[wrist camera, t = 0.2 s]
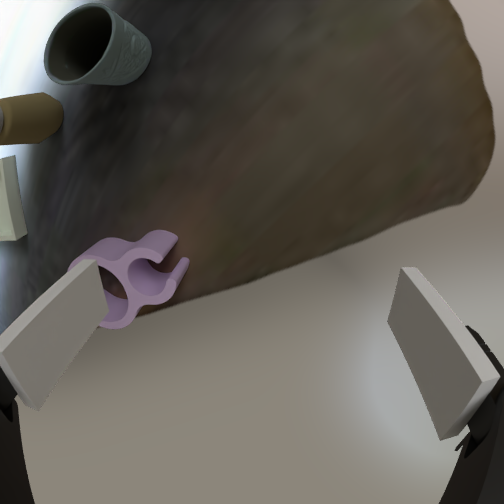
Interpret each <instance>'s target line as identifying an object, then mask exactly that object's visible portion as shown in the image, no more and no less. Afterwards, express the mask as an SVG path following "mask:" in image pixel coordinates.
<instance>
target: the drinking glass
mask: <svg viewBox="0 0 504 504" xmlns="http://www.w3.org/2000/svg"><path fill="white" fill-rule="evenodd" d="M151 55H152V49H151V44H150V42H149V40H148V38H147V37H146V36H145V35H144V34H143V33H141V32H140V31H139V30H137V29H136V28H135V27H134V26H133V25H131V24H130V23H129V22H128V21H126V20H123V19H122V18H121V17H120V16H119V15H118V14H116V13H115V12H114V11H112V10H111V9H110V8H108V7H107V6H106V5H103V4H100V3H89V4H85V5H82V6H80V7H77V8H75V9H74V10H72V11H71V12H69V13H68V14H67V15H66V16H64V17H63V18H62V19H61V20H60V22H59V23H58V24H57V25H56V27H55V28H54V30H53V31H52V33H51V35H50V37H49V39H48V42H47V44H46V48H45V53H44V66H45V70H46V73H47V75H48V76H49V78H50V79H51V80H53V81H54V82H55V83H58V84H61V85H78V84H103V85H125V84H128V83H130V82H132V81H134V80H135V79H137V78H138V77H139V76H140V75H142V73H143V72H144V70H145V69H146V67H147V66H148V64H149V61H150V58H151Z"/></svg>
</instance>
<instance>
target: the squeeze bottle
mask: <svg viewBox="0 0 504 504" xmlns="http://www.w3.org/2000/svg"><path fill="white" fill-rule="evenodd" d="M62 121H63V108H62V105H61V104H60V102H59V101H57V100H56V99H54V98H53V97H51V96H50V95H48V94H46V93H43V92H42V93H34V94H26V95H20V96H13V97H7V98H3V99H0V145H13V144H35V143H40V142H42V141H43V140H45V139H46V138H48V137H49V136H51V135H52V134H54V133H55V132H56V131H57V130H58V129H59V127H60V126H61V123H62Z"/></svg>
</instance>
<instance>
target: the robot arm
mask: <svg viewBox="0 0 504 504" xmlns="http://www.w3.org/2000/svg"><path fill="white" fill-rule="evenodd" d="M108 312H109V308H108V305H107V301H106V297H105V294H104V290H103V286H102V282H101V278H100V273H99V269H98V265H97V260H95V259H83V260H82V261H80V262H79V263H78V264H77V265H76V266H74V267H73V268H72V269H71V270H70V271H69V272H67V273H66V274H65V275H64V276H63V277H62V278H60V279H59V280H58V281H57V282H56V283H55V284H54V285H52V286H51V287H50V288H49V289H48V290H47V291H46V292H45V293H44V294H42V295H41V296H40V297H39V298H38V299H37V300H36V301H35V302H34V303H33V304H32V305H31V306H29V307H28V308H27V309H26V310H25V311H24V312H23V313H22V314H21V315H20V316H19V317H17V318H16V319H15V320H14V321H13V322H12V324H10V325H9V326H8V327H7V329H6V330H4V331H3V333H2V334H1V335H0V504H35V503H34V499H33V495H32V492H31V488H30V484H29V479H28V475H27V470H26V465H25V460H24V454H23V448H22V441H21V433H20V424H19V414H18V405H17V402H16V401H15V399H14V398H15V397H16V395H17V394H18V396H19V397H20V398H21V400H22V401H23V403H24V404H25V405H26V406H28V407H30V408H32V409H34V410H37V411H39V410H40V408H41V407H42V405H43V404H44V402H45V401H46V399H47V397H48V396H49V394H50V393H51V391H52V390H53V388H54V387H55V385H56V384H57V382H58V381H59V379H60V378H61V377H62V375H63V374H64V372H65V371H66V369H67V368H68V366H69V365H70V364H71V362H72V361H73V359H74V358H75V356H76V355H77V354H78V352H79V351H80V349H81V348H82V347H83V345H84V344H85V343H86V341H87V340H88V338H89V337H90V336H91V335H92V333H93V332H94V330H95V329H96V328H97V326H98V325H99V324H100V323H101V321H102V320H103V319H104V317H105V316H106V315H107V313H108ZM387 322H388V324H389V326H390V328H391V330H392V332H393V334H394V336H395V338H396V340H397V342H398V344H399V346H400V348H401V350H402V352H403V354H404V357H405V359H406V361H407V363H408V365H409V367H410V369H411V372H412V374H413V376H414V378H415V381H416V383H417V385H418V387H419V390H420V392H421V394H422V397H423V399H424V401H425V404H426V406H427V409H428V411H429V414H430V416H431V419H432V421H433V423H434V426H435V429H436V431H437V434H438V436H439V439H440V441H441V440H444V439H447V438H451V437H454V436H457V435H458V434H459V433H460V432H461V431H462V430H463V429H464V427H465V426H466V425H468V427H469V429H470V432H469V433H468V434H467V435H466V436H465V438H464V439H463V440H462V441H461V442H460V444H459V445H458V446H457V447H456V449H455V451H458V450H459V449H460V447H461V446H462V445H463V447H462V450H461V453H460V455H459V458H458V461H457V463H456V466H455V468H454V471H453V474H452V476H451V478H450V481H449V483H448V485H447V487H446V490H445V492H444V494H443V496H442V498H441V500H440V502H439V504H504V369H503V367H502V365H501V364H500V363H499V361H498V360H497V358H496V357H495V355H494V354H493V353H492V352H490V349H489V347H488V346H487V345H486V344H485V342H484V340H483V339H482V338H481V336H480V335H479V334H478V333H477V332H476V331H474V330H473V329H471V328H470V327H469V326H464V324H463V323H462V322H461V320H460V319H459V318H458V317H457V315H456V314H455V313H454V312H453V310H452V309H451V308H450V307H449V306H448V304H447V303H446V302H445V300H444V299H443V298H442V297H441V296H440V294H439V293H438V292H437V291H436V290H435V289H434V287H433V286H432V285H431V284H430V283H429V282H428V280H427V279H426V278H425V277H424V276H423V275H422V274H421V272H420V271H419V270H418V269H417V268H416V267H413V268H412V267H401V269H400V274H399V278H398V283H397V287H396V291H395V295H394V299H393V303H392V306H391V310H390V314H389V317H388V321H387Z"/></svg>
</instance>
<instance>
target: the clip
mask: <svg viewBox="0 0 504 504" xmlns="http://www.w3.org/2000/svg"><path fill="white" fill-rule="evenodd" d="M177 241H178V237H177V236H176V235H175V234H173V233H171V232H169V231H165V230H155V231H151V232H149V233H147V234H146V235H145V236H144V237H143V238H141V239H140V240H139V241H137V242H128V241H125V240H123V239H119V238H105V239H102V240H100V241H99V242H97V243H96V244H94V245H93V246H92V247H91V248H89V249H88V250H87V251H85V252H84V253H83V254H81V255H80V256H79V257H78V258H76V259H75V260H74V261H73V262H72V263H71V265H70V266H69V269H68V272H69V271H70V270H71V269H72V268H73V267H74V266H76V265H77V264H78V263H79V262H80V261H82V260H83V259H95V260H97V265H99V266H101V267H104V268H106V269H107V270H109V271H110V272H111V273H113V274H114V275H115V276H116V277H117V278H118V279H119V281H120V282H121V284H122V285H123V287H124V289H125V291H126V293H127V297H128V299H121V298H118V297H115V296H113V295H112V294H110V293H109V292H108V291H106V290H105V289H103V290H104V294H105V297H106V301H107V305H108V308H109V312H108V313H107V315H106V316H105V317H104V319H103V320H102V321H101V323H100V324H99V325H98V326H101V327H104V328H107V329H121V328H124V327H126V326H128V325H129V324H130V323H131V322H132V321H133V320H134V318H135V317H136V315H137V314H138V312H139V311H140V309H141V308H142V306H143V305H147V304H151V305H156V304H161V303H164V302H166V301H168V300H169V299H170V298H171V297H172V295H173V294H174V292H175V290H176V289H177V287H178V285H179V283H180V281H181V280H182V278H183V276H184V274H185V273H186V271H187V269H188V266H189V259H188V258H186V257H183V258H181V259H180V261H179V262H178V264H177V265H176V267H175V268H174V270H173V271H172V272H170V273H161V272H159V271H157V270H155V269H154V268H152V267H151V265H150V264H149V262H148V260H147V259H150V260H152V261H154V262H156V263H160V262H161V261H162V260H163V259H164V257H165V256H166V255H167V254H168V252H169V251H170V250H171V248H172V247H173V246H174V245H175V243H176V242H177Z"/></svg>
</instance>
